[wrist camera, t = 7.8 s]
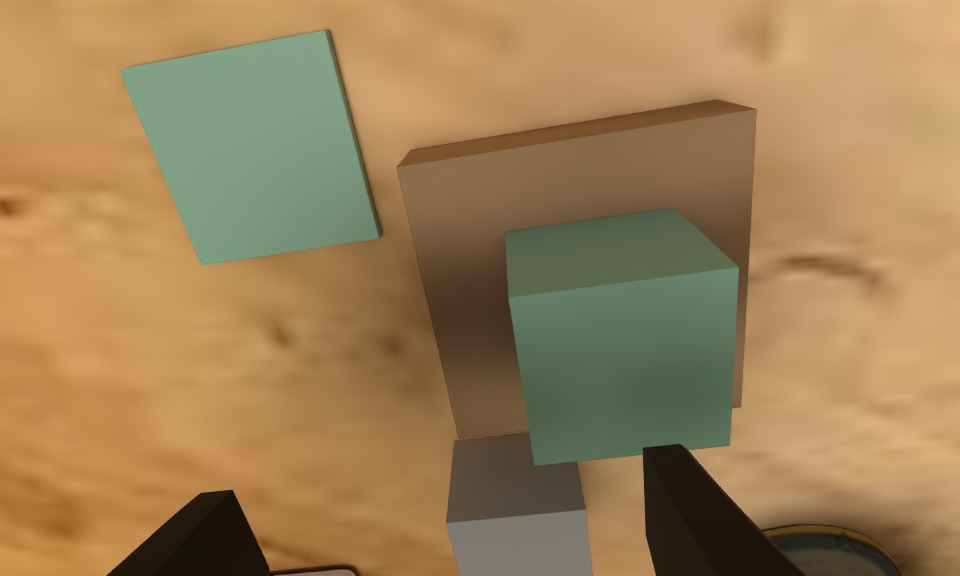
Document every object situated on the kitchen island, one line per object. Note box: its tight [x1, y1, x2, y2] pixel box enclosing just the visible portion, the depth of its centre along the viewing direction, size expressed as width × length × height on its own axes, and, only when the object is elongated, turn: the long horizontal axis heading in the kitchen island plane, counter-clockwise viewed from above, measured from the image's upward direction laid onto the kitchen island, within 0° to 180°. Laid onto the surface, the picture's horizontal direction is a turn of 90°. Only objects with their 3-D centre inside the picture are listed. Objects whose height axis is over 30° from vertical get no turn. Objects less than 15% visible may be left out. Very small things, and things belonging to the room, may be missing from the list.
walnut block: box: [397, 100, 757, 438], centre depth 16 cm, size 9×9×3 cm
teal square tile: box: [119, 30, 382, 266], centre depth 16 cm, size 6×6×1 cm
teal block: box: [505, 208, 739, 466], centre depth 13 cm, size 4×4×4 cm
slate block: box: [446, 433, 593, 576], centre depth 20 cm, size 4×4×4 cm
